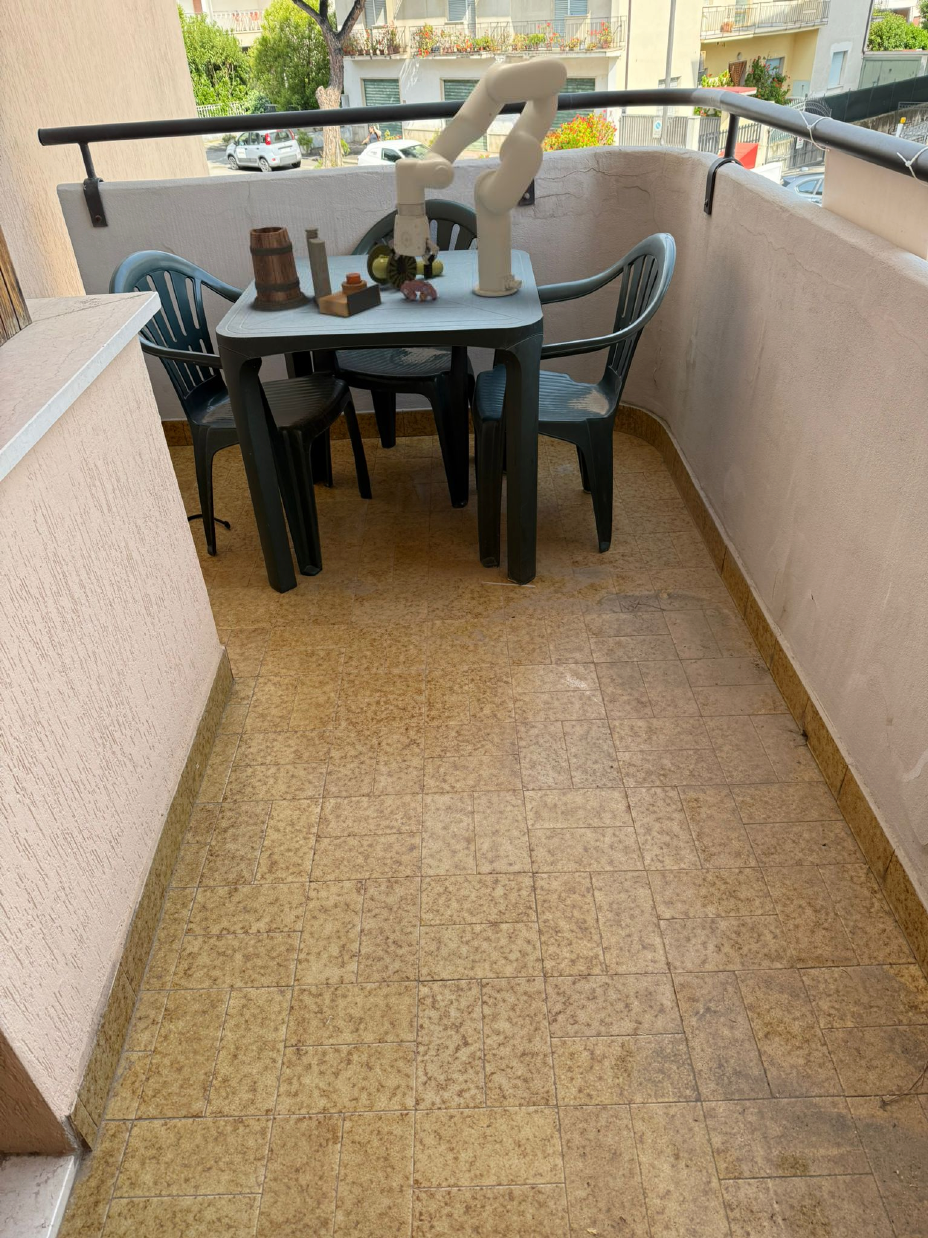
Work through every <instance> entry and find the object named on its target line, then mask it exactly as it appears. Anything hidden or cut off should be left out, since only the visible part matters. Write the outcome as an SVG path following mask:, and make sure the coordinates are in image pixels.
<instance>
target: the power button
mask: <svg viewBox="0 0 928 1238" xmlns="http://www.w3.org/2000/svg"><path fill="white" fill-rule="evenodd" d="M345 278H346V281H347V284H349V285H355V284H360V283H361V280H362V277H361V274H360V273H359V272H351V273H347V274H345Z"/></svg>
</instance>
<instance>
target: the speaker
mask: <svg viewBox="0 0 928 1238" xmlns="http://www.w3.org/2000/svg"><path fill="white" fill-rule="evenodd" d="M367 287H368V282H367V281H366V280H365V279H361V283H360V284H355V285H349V284H347V280H345V281H342V283H341V290H339V291H337V292H332V294H331V295H328V296H325V297H322V298H320V299H318V301H319V305H318V307H319V313H322V314H328V315H331V316H332V315H333V316H339V317H344V318H347V317H350V316H353V315H355V314H357V313H360V312H363V311H365V310H368V309H370V308H373V307H375V306H378V305H381V304H382V295H381V289H379V293H380V302H381V303H379V304H376V305H374V306H371V307H369V308H366V309H364V310H361V311H359V312H356V313H354V314H351V315H349V313H348V305H347V297H346V295H348V294H351V293H354V292H356V291H359V290H362V289H364V288H367Z"/></svg>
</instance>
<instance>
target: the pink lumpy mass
mask: <svg viewBox="0 0 928 1238" xmlns="http://www.w3.org/2000/svg"><path fill="white" fill-rule="evenodd" d="M399 291H400V292H401V294H402V295H403V297H404V298H406V299H409V300H411V301H416V300H417V299H420V301H423V302H424V301H426V300H428V298H429V297H430V298H431V299H433V300H435V299H437V297H438V292H437V290H436V288H435V287H434V286H433V284H432V283H430V282H429V281H427V280H426V281H423V280H421V279H415V280H412V281H410V282H409V281H405V283H404V284H403V285H402V286H401V289H400V290H399ZM418 293H419V296H418Z"/></svg>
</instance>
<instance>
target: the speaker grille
mask: <svg viewBox="0 0 928 1238" xmlns="http://www.w3.org/2000/svg"><path fill="white" fill-rule="evenodd" d="M379 290H380V284H378V283H375V284H373V285H370V286H367V288H364V289H362V290H359V291H356V292H354V293H351V294H348V295H346V297H347V305H348V313H349V315H350V316H352V315H351V314H353V315H355V314H357V313H356V312H358V313H360V312H362V311H361V310H363V311H365V310H367V309H366V308H368V309H370V308H372V307H371V306H373V307H375V306H377V305H376V304H378V305H380V304H379V303H381V304H382V301H381V302H380V295H381V292H380V293H379ZM374 305H375V306H374ZM369 307H370V308H369ZM364 309H365V310H364ZM359 311H360V312H359ZM354 313H355V314H354Z"/></svg>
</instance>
